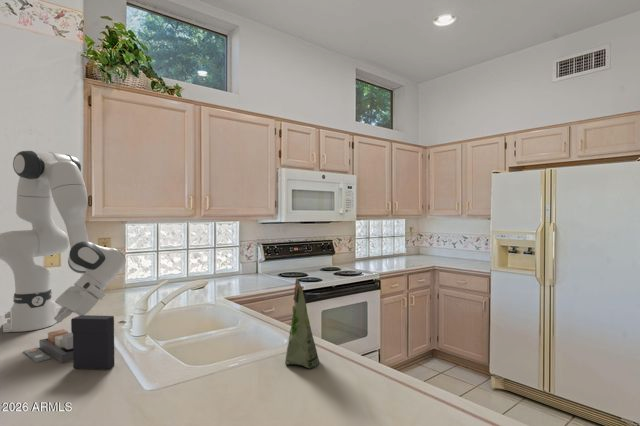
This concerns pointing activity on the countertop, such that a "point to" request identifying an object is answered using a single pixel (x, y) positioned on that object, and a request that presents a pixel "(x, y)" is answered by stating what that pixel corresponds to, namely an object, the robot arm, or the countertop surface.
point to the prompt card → (36, 355)
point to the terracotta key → (55, 333)
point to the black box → (93, 342)
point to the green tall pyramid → (301, 334)
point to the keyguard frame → (56, 351)
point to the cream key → (58, 341)
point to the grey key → (67, 340)
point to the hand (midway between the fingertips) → (56, 320)
